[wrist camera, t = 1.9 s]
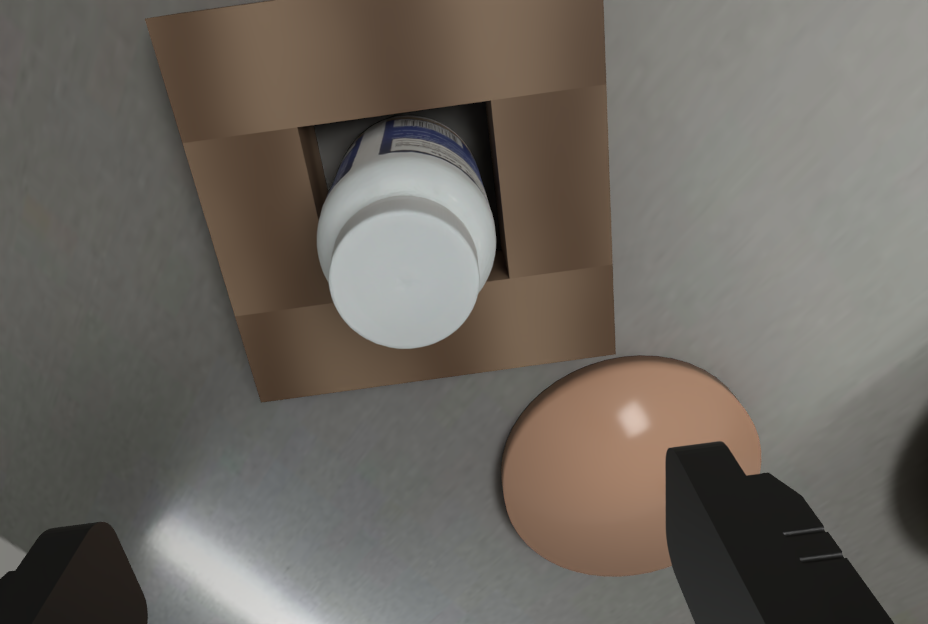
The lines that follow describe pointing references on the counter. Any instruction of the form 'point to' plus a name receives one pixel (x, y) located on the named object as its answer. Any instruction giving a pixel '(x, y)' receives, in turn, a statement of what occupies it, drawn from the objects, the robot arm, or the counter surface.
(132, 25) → the counter surface
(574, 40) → the block
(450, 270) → the pill bottle
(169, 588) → the counter surface
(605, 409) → the salmon pink disc
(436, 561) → the counter surface
